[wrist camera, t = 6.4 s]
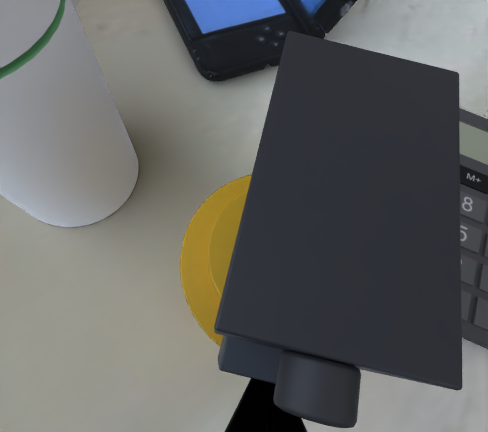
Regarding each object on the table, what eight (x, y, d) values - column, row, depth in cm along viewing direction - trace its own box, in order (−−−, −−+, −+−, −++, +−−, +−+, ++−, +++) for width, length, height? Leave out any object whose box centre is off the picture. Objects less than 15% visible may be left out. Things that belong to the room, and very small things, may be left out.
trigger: (304, 382, 10) (341, 400, 7) (217, 360, 10) (218, 370, 7) (314, 313, 11) (352, 304, 8) (233, 293, 11) (240, 277, 8)
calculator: (365, 289, 18) (422, 90, 23) (358, 291, 19) (415, 100, 24) (576, 382, 17) (586, 155, 22) (558, 380, 18) (572, 162, 23)
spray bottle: (308, 375, 17) (616, 500, 4) (174, 342, 17) (46, 361, 4) (327, 242, 20) (550, 57, 7) (211, 213, 20) (205, -28, 7)
